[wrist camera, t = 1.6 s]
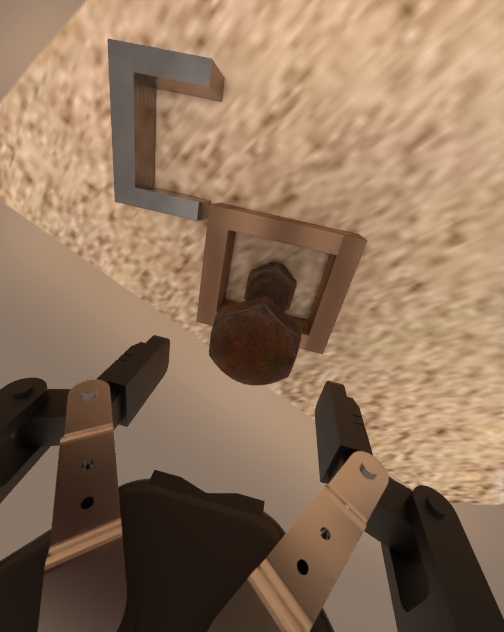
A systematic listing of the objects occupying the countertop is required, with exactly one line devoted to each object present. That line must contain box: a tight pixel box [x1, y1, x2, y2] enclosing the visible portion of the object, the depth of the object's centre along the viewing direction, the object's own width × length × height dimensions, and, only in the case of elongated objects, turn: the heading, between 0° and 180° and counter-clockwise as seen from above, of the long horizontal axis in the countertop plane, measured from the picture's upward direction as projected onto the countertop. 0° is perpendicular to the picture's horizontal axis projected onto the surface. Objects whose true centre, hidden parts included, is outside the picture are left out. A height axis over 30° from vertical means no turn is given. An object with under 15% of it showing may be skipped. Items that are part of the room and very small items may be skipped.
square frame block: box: [197, 203, 367, 354], centre depth 27 cm, size 14×12×4 cm
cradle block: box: [108, 39, 224, 221], centre depth 23 cm, size 8×11×4 cm
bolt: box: [209, 262, 302, 385], centre depth 22 cm, size 6×5×15 cm
